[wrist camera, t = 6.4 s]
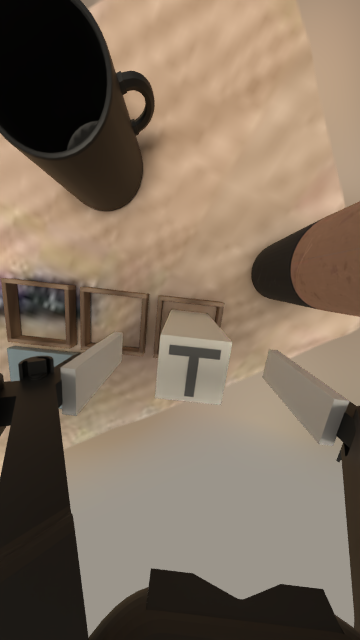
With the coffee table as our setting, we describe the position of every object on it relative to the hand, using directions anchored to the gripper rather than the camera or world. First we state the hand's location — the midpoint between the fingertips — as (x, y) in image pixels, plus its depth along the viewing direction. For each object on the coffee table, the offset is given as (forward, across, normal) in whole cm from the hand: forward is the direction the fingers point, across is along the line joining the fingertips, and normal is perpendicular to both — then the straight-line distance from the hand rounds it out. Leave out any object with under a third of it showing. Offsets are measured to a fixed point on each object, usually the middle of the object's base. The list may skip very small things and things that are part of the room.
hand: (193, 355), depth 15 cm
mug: (+9, -12, +19) cm, 24 cm away
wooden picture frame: (+9, -20, 0) cm, 22 cm away
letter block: (+9, 0, 0) cm, 9 cm away
